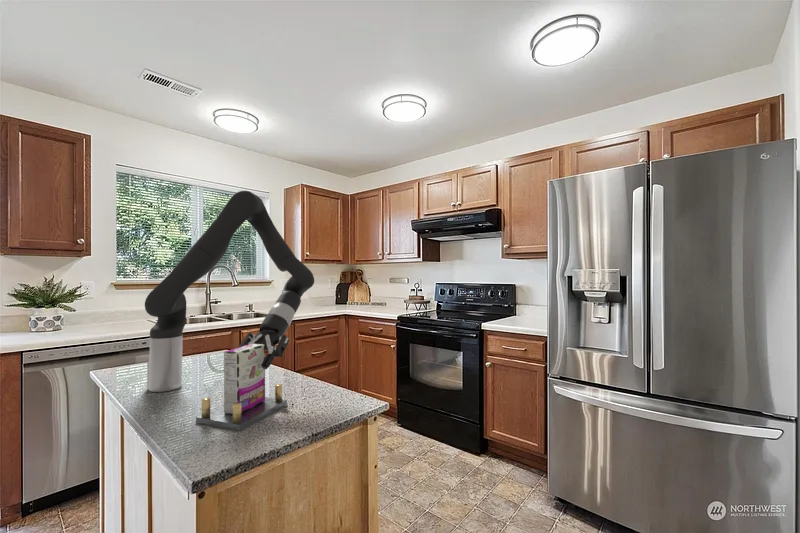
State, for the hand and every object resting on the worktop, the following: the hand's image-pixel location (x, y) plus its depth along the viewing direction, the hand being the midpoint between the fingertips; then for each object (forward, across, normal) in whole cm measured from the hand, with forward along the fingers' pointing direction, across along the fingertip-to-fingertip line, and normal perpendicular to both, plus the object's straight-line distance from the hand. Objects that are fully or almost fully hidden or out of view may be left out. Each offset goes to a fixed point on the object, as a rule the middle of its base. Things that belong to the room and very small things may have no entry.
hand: (251, 366), depth 101 cm
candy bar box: (+9, 0, +6) cm, 11 cm away
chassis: (+10, 0, +7) cm, 13 cm away
